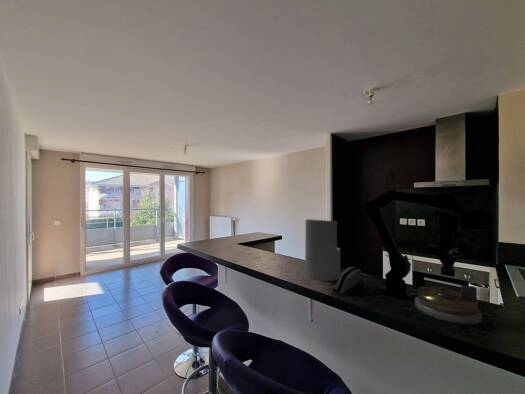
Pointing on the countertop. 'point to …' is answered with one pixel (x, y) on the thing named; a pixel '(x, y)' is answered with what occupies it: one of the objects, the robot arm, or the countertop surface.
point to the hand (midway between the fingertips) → (448, 272)
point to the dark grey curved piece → (348, 279)
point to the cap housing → (449, 314)
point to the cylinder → (322, 250)
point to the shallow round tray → (450, 299)
